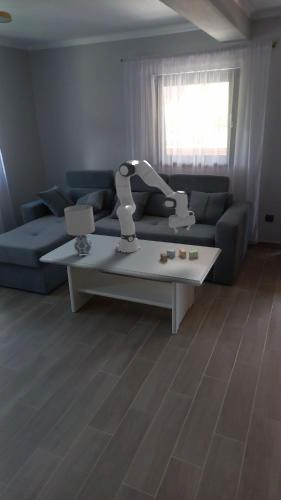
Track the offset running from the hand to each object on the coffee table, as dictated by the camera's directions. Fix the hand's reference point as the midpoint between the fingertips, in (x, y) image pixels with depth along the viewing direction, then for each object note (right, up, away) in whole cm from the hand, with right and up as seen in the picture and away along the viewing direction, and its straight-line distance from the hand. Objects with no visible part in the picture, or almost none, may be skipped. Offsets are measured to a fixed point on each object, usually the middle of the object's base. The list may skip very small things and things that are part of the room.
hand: (182, 231), depth 256 cm
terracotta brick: (+1, -18, +7) cm, 19 cm away
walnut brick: (-13, -21, +1) cm, 25 cm away
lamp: (-77, -17, +24) cm, 82 cm away
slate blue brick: (-8, -18, +8) cm, 21 cm away
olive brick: (+9, -19, +3) cm, 21 cm away
